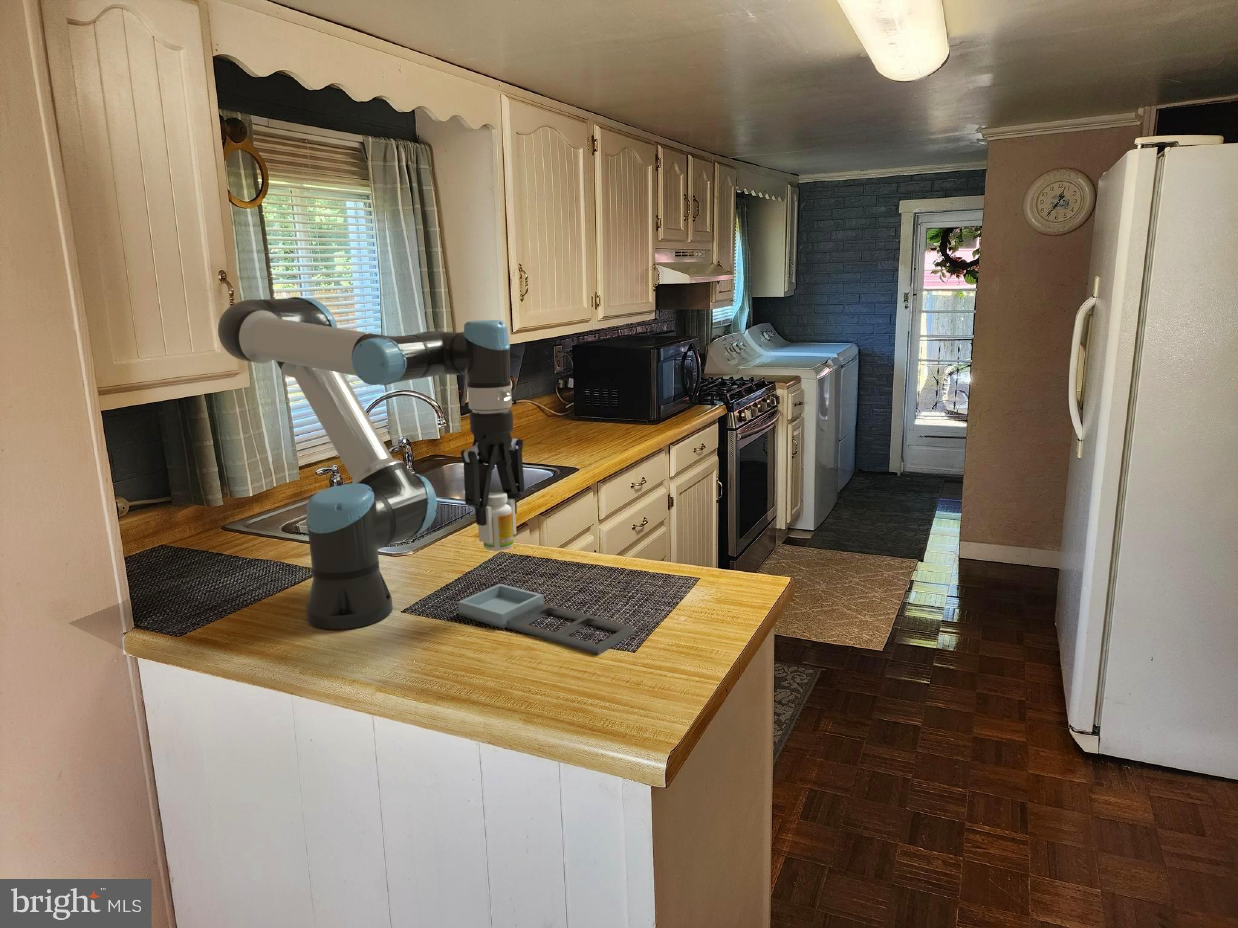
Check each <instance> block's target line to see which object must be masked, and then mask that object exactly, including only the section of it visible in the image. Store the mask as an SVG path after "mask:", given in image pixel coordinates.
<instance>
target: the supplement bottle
mask: <svg viewBox="0 0 1238 928" xmlns="http://www.w3.org/2000/svg"><path fill="white" fill-rule="evenodd" d="M506 502H507V494H506V493H503V491H502V492H501V491H495V492H489V497H488V505H487V506H489V507H491V513H492V530H493V543H486V542H482V543H483V548H485V550H487V551H492V552H493V551H494V552H495V551H505V550H508V549H511V548H512V547H513V546H514V535H513V525H512V509H511V507H510V506H509V505H507V504H506Z"/></svg>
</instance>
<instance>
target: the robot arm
mask: <svg viewBox="0 0 1238 928" xmlns="http://www.w3.org/2000/svg"><path fill="white" fill-rule="evenodd" d="M217 336H218V339H219V342H220V344H221V345H222V347H223V348H224V350H225V351H226V352H227V353H228V354H229V355H230V356H232V357H234V358H236V359H238V360H241V361H244V362H245V361H246V362H251V363H256V364H266V363H269V362H272V361H275V363H276V364H277V366H278V368H279V370H280V371H281V372H282V374H283V376H286V377H290V378H294V379H295V381H296V383H297V384H298V386H299V388H300V390H301V392H302V393H303V395H304V397H305V399H306V400H307V402H308V404H309V405H310V407H311V409H312V411H313V412H314V414H315V415H316V418H317V420H318V421H319V423H320V425H321V426H322V429H323V430H324V432H325V433H326V435H327V437H328V439H329V440H330V442H331V444H332V446H333V447H334V449H335V451H336V453H337V455H338V456H339V457H340V460H341V462H342V463H343V464H344V466H345V469H346V470H347V472H348V474H349V475H350V477H351V479H352V482H351V483H344V484H341V485H333V486H331V487H328V488H325V489H322V490H320V491H318V492H317V493H314V495H312V496H311V497H310V499H309V500H308V501H307V503H306V520H305V521H306V522H305V525H306V528H307V534H308V535H307V536H308V541H309V552H310V562H311V570H312V571H311V572H312V582H311V587H310V591H309V596H308V602H307V604H306V607H305V612H306V621H307V623H308V624H309V625H310V626H312V627H314V628H318V629H321V630H333V631H334V630H335V631H337V630H339V631H340V630H349V629H356V628H361V627H365V626H369V625H372V624H375V623H377V622H381V620H383V619H385V618H387V617H388V616H390V614H391V613H392V612H393V610H394V609H393V608H394V607H393V600H392V599H393V598H392V594H391V593H390V590H389V588H388V586H387V584H386V581H385V579H384V577H383V575H382V573H381V570H380V569H381V568H380V560H379V559H380V558H379V550H380V549H382V548H385V547H387V546H390V545H393V544H396V543H398V542H401V541H403V540H406V539H411V538H414V537H415V536H417V535H419V533H423V532H424V531H425V530H427V529H428V528H430V526H432V523H433V522H434V520H435V518H436V514H437V513H436V512H437V511H436V510H437V508H438V501H437V495H436V492H435V488H434V487H433V485H432V483H431V482H430V481H429V480H428V479H427V477H425V476H422V475H420V474H418V473H411V471H410V470H409V468H408V467H407V464H406V463H405V462H404V461H403V460H399V459H395V458H394V457H392V455H391V453H390V451H389V450H388V448H387V446H386V444H385V443H384V441H383V439H382V438H381V435H380V434H379V433H378V431H377V428H376V427H375V425H374V424H373V421H372V420H371V419H370V417H369V415H368V413H367V411H366V410H365V408H364V406H363V404H362V403H361V402H360V399H359V398H358V395H357V394H356V392H355V391H354V390H353V387H352V386H351V384H350V382H349V381H348V378H347V377H346V375H349V376H355V377H357V378H358V379H360V380H361V381H362V382H363V383H364V384H367V385H369V386H380V385H382V386H388V385H392V384H394V383H395V384H396V383H401V382H406V381H413V380H417V379H418V380H419V379H424V378H431V377H436V376H445V375H449V376H452V375H453V376H454V375H455V376H466V382H467V383H466V384H467V398H468V399H467V400H468V409H470V411H471V412H470V413H469V430H470V432H471V433H472V435H473V441H472V445H471V447H470V448H468V449H467V450H466V449H462V450H461V451H460V456H461V460H462V464H463V479H464V480H463V481H464V503H465V505H466V506H470V507H474V510H475V524H476V525H477V527H478V541H479V542H482V543H483V542H486V543H493V530H492V513H491V507H489V506H487V505H488V497H489V493H490V488H491V481H492V474H493V470H494V469H495V468H496V470H497V474H498V478H499V481H500V485H501V489H502V492H503V493H506V494H507V502H506V504H507V505H509V506H510V507H511V509H512V525H513V536H514V535H517V520H516V519H517V518H516V515H517V513H518V507H517V506H518V505H517V500H518V499H521V497H522V493H524V491H525V477H524V475H525V474H524V464H523V446H524V440H523V439H521V438H513V437H512V434H511V432H513V430H514V415H513V413H514V412H513V411H512V410H511V409H510V408H512V406H513V400H512V399H513V397H512V381H511V360H510V359H511V355H510V354H511V351H510V349H511V344H510V340H509V338H510V337H509V332H508V326H507V323H506V322H505V321H503V320H501V319H500V320H499V319H497V320H496V319H493V320H492V319H488V320H487V319H486V320H485V319H482V320H481V319H480V320H470V321H466V322H465V323H464V325H463V331H460V332H459V331H458V332H454V331H453V332H452V331H437V330H431V331H429V330H427V331H420V332H417V333H414V334H407V335H393V336H392V335H391V336H390V335H384V334H377V333H371V332H365V331H358V330H353V329H347V328H340V327H338V326H337V322H336V319H335V317H334V314H333V313H332V312H331V310H329V308H328V307H327V306H326V305H325V304H323V303H322V302H321V301H319V300H317V299H313V298H309V297H299V296H293V297H292V296H291V297H287V298H268V299H267V298H266V299H265V298H264V299H263V298H262V299H261V298H260V299H253V298H252V299H245V300H241V301H237V302H236V303H234V304H232V305H229V307H228V308H226V310H224V312H223V313H222V314H221V317H220V318H219V321H218V326H217Z"/></svg>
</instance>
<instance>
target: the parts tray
mask: <svg viewBox="0 0 1238 928" xmlns="http://www.w3.org/2000/svg"><path fill="white" fill-rule="evenodd" d="M544 598H545V597H544V594H541V593H537V592H533V591H530V590H525V589H521V588H519V587H515V586H511V585H507V584H502V583H498V584H496V585H494V586H491V587H489V588H486V589H484V590H482V591H480V592H477V593H475V594H473V595H471V596H468V597H466V598H464V599H461V600H459V601H457V603H458V605H457V606H458V608H457V609H458V616H461V617H464V618H467V619H470V620H474V621H476V622H477V621H478V622H480V623H485V624H488V625H490V626H494V627H496V628H497V627H498V628H501V629H505V628H507V621H509V620H511V619H513V618H515V617H517V616H519V615H521V614H523V613H525V612H527V611H530V610H532V609H534V608H536V607H538V606H540V605H542V604H545V599H544Z"/></svg>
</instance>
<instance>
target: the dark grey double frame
mask: <svg viewBox="0 0 1238 928" xmlns="http://www.w3.org/2000/svg"><path fill="white" fill-rule="evenodd" d="M548 614H549V615H552V616H553V615H554V616H557V617H561V618H564V619H568V620H571V621H573V622H571V623H569V624H566V626H565V625H564V627H561V628H559V629H558V630H556V631H551V630H549V629H545V628H542V627H538V626H535V625H531V624H532V623H533V622H536V621H537V620H539V619H541V618H543V617H545V616H547V615H548ZM588 625H590V626H594V627H598V628H601V629H605V630H608V631H612V632H616V633H613V634H612V635H610V636H609V637H606V638H605V639H603V640H602V641H600V642H599V643H593V642H590V641H588V640H587V641H586V640H583V639H579V638H576V637H573V636H570V635H571V634H573V633H574V632H576V631H577V632H578V631H579V630H580V629H582V628H584V627H585V626H588ZM506 628H507V629H509V630H513V631H516V632H520V633H522V634H527V635H530V636H534V637H535V638H536V637H537V638H540V639H544V640H548V641H550V642H554V643H558V644H560V645H563V646H567V647H570V648H574V649H578V650H580V651H583V652H588V653H591V654H594V655H601V654H602V653H604V652H606V651H608V650H609V649H611V648H612V647H614V646H615V645H617V644H618V643H621V642H622V641H624V640H626V639H627V638H629V637H630V636H632V635H633V634H634V626H631V625H627V624H624V623H620V622H616V621H612V620H608V619H605V618H601V617H597V616H594V615H589V614H586V613H581V612H577V611H575V610H571V609H566V608H562V607H561V606H555V605H552V604H548V603H544V604H542V605H540V606H538V607H536V608H534V609H532V610H530V611H527V612H525V613H523V614H521V615H519V616H517V617H515V618H513V619H511V620H509V621H507V627H506Z"/></svg>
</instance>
